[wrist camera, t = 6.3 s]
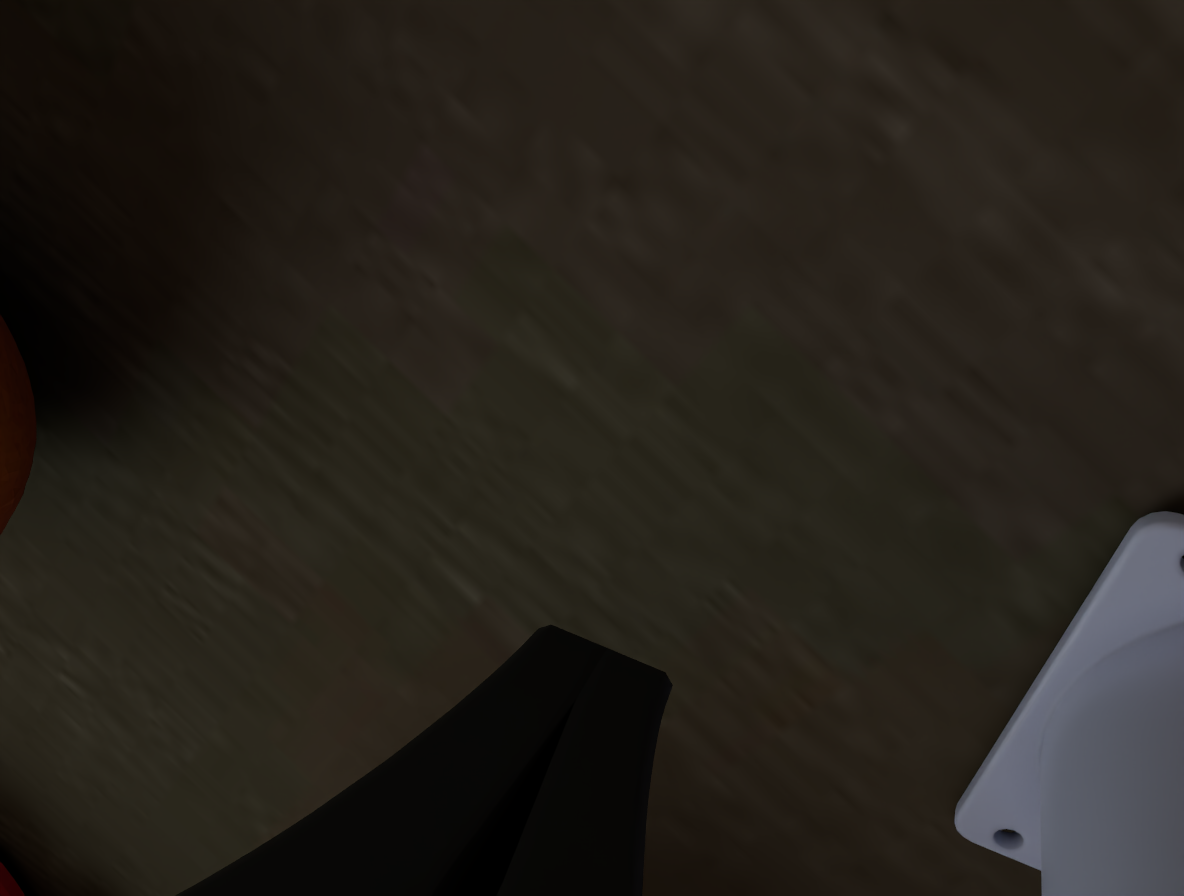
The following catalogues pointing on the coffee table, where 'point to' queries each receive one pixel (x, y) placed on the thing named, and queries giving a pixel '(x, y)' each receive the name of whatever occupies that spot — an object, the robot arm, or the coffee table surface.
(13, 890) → the alarm clock
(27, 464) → the fruit
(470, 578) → the coffee table surface
